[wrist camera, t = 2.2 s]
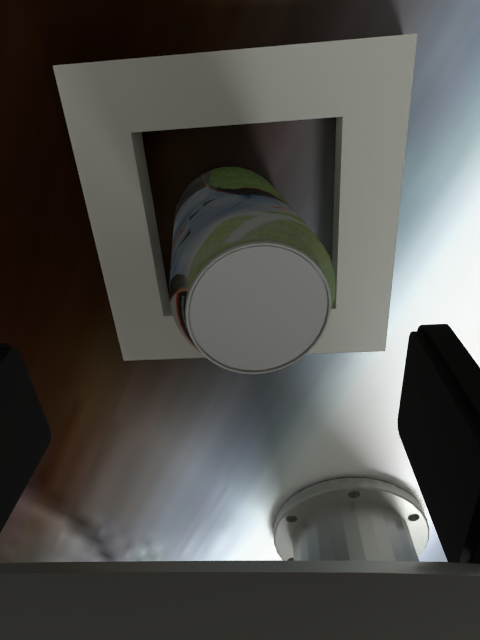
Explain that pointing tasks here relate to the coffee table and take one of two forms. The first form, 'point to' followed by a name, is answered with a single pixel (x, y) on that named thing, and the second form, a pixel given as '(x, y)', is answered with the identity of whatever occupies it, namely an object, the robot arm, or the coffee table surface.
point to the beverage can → (247, 274)
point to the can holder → (232, 109)
